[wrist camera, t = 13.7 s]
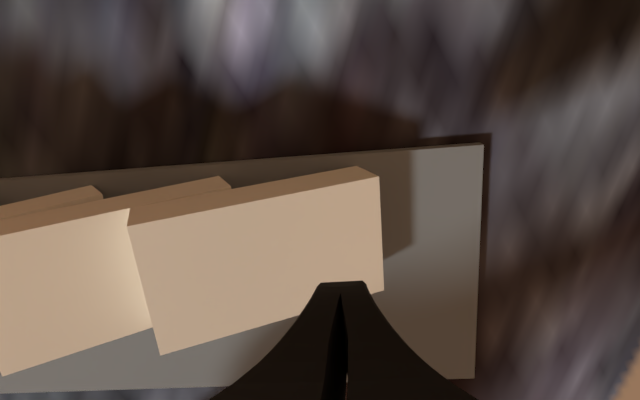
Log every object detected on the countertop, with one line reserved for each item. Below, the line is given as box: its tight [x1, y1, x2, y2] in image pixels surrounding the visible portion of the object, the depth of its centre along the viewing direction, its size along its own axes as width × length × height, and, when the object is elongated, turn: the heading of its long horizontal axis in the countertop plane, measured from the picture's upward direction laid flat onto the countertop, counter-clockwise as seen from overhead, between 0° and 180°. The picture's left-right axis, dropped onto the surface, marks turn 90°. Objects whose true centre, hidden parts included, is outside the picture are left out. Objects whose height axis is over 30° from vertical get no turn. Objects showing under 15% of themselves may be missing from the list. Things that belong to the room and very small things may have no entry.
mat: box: [0, 142, 484, 394], centre depth 21 cm, size 12×33×1 cm, turn 95°
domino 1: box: [0, 176, 231, 377], centre depth 16 cm, size 2×5×9 cm
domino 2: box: [127, 166, 384, 356], centre depth 16 cm, size 2×5×9 cm
